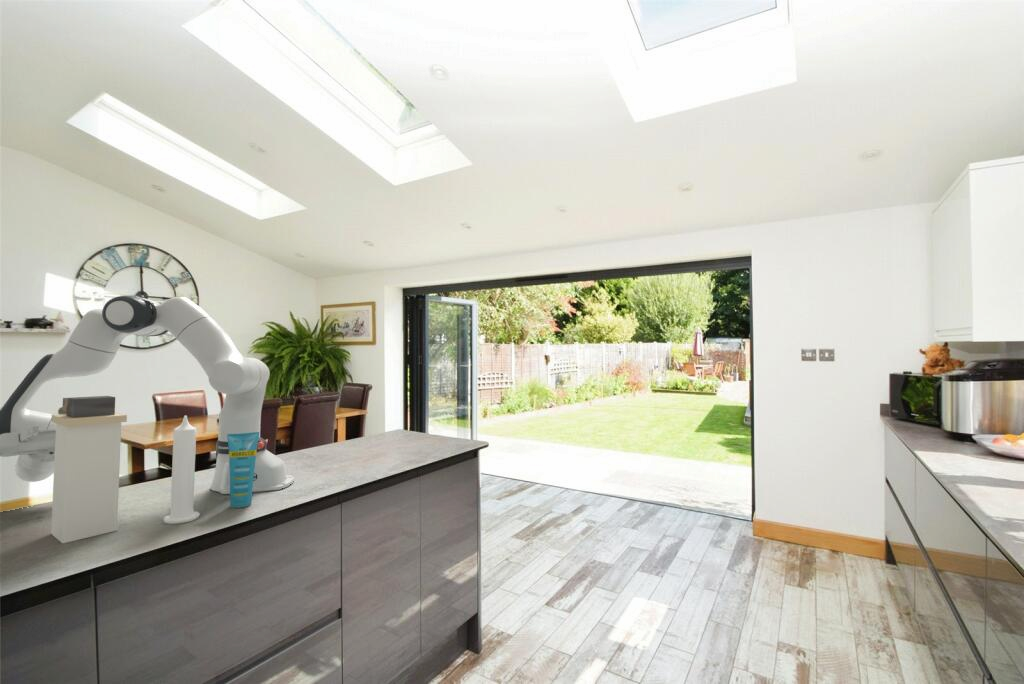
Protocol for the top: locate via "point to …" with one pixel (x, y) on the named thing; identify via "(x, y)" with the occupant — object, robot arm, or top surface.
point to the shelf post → (86, 476)
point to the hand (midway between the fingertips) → (61, 426)
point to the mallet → (89, 406)
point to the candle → (183, 475)
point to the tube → (242, 467)
